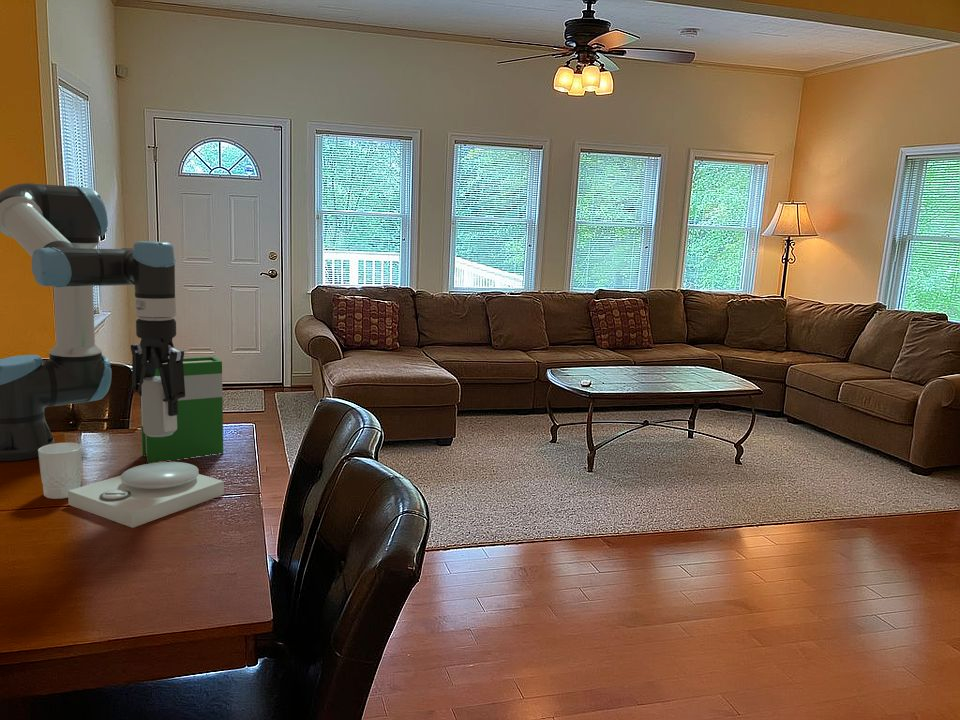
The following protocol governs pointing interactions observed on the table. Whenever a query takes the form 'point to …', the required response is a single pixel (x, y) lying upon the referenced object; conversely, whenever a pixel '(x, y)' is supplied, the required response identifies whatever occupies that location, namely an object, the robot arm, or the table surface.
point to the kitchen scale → (146, 493)
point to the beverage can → (153, 407)
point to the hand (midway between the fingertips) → (159, 427)
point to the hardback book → (193, 415)
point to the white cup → (60, 468)
